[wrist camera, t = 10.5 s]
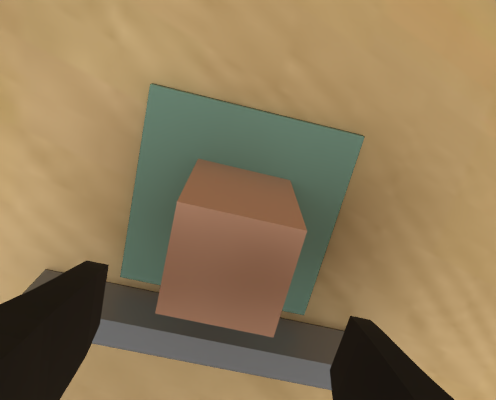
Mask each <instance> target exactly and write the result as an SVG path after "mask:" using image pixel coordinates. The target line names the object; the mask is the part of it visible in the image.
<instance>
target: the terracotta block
mask: <svg viewBox="0 0 496 400" xmlns="http://www.w3.org/2000/svg"><path fill="white" fill-rule="evenodd" d="M306 233H307V229H306V226H305V223H304V220H303V217H302V214H301V211H300V208H299V205H298V202H297V199H296V196H295V193H294V190H293V187H292V184H291V181H290V180H287V179H283V178H279V177H274V176H270V175H266V174H262V173H257V172H253V171H249V170H245V169H240V168H236V167H232V166H228V165H223V164H219V163H215V162H211V161H206V160H202V159H198V160H197V162H196V164H195V166H194V168H193V170H192V172H191V174H190V176H189V178H188V180H187V182H186V184H185V186H184V188H183V190H182V192H181V194H180V196H179V198H178V201H177V204H176V209H175V214H174V219H173V225H172V230H171V235H170V240H169V245H168V250H167V255H166V260H165V265H164V271H163V276H162V281H161V286H160V291H159V296H158V301H157V306H156V311H155V314H160V315H165V316H170V317H175V318H180V319H185V320H190V321H195V322H200V323H204V324H209V325H214V326H219V327H224V328H229V329H234V330H239V331H244V332H249V333H254V334H259V335H263V336H268V337H274V334H275V331H276V328H277V325H278V321H279V318H280V315H281V312H282V309H283V306H284V303H285V299H286V296H287V293H288V290H289V287H290V284H291V281H292V277H293V274H294V271H295V268H296V265H297V262H298V258H299V255H300V252H301V249H302V246H303V243H304V240H305V236H306Z"/></svg>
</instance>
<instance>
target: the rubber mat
mask: <svg viewBox="0 0 496 400" xmlns="http://www.w3.org/2000/svg"><path fill="white" fill-rule="evenodd" d="M363 140H364V136H363V135H359V134H355V133H351V132H347V131H343V130H339V129H335V128H331V127H327V126H323V125H318V124H314V123H310V122H306V121H302V120H298V119H294V118H290V117H286V116H282V115H278V114H274V113H270V112H266V111H262V110H258V109H254V108H250V107H246V106H241V105H237V104H233V103H229V102H225V101H221V100H217V99H213V98H209V97H205V96H201V95H197V94H193V93H189V92H185V91H181V90H177V89H173V88H169V87H164V86H160V85H156V84H150V89H149V96H148V102H147V109H146V115H145V121H144V128H143V134H142V141H141V147H140V153H139V160H138V166H137V173H136V179H135V186H134V192H133V198H132V205H131V211H130V218H129V224H128V230H127V237H126V243H125V250H124V256H123V263H122V269H121V275H120V277H123V278H128V279H133V280H138V281H142V282H147V283H152V284H157V285H161V281H162V276H163V271H164V265H165V260H166V255H167V250H168V245H169V240H170V235H171V230H172V225H173V219H174V214H175V209H176V204H177V201H178V198H179V196H180V194H181V192H182V190H183V188H184V186H185V184H186V182H187V180H188V178H189V176H190V174H191V172H192V170H193V168H194V166H195V164H196V162H197V160H198V159H202V160H206V161H211V162H215V163H219V164H223V165H228V166H232V167H236V168H240V169H245V170H249V171H253V172H257V173H262V174H266V175H270V176H274V177H279V178H283V179H287V180H290V181H291V184H292V187H293V190H294V193H295V196H296V199H297V202H298V205H299V208H300V211H301V214H302V217H303V220H304V223H305V226H306V229H307V233H306V236H305V240H304V243H303V246H302V249H301V252H300V255H299V258H298V262H297V265H296V268H295V271H294V274H293V277H292V281H291V284H290V287H289V290H288V293H287V296H286V299H285V303H284V306H283V309H282V311H286V312H291V313H296V314H301V315H304V314H305V311H306V308H307V305H308V302H309V299H310V296H311V293H312V290H313V287H314V284H315V281H316V279H317V276H318V273H319V270H320V267H321V264H322V261H323V258H324V255H325V252H326V249H327V246H328V243H329V240H330V237H331V234H332V231H333V228H334V226H335V223H336V220H337V217H338V214H339V211H340V208H341V205H342V202H343V199H344V196H345V193H346V190H347V187H348V184H349V181H350V178H351V175H352V172H353V170H354V167H355V164H356V161H357V158H358V155H359V152H360V149H361V146H362V143H363Z"/></svg>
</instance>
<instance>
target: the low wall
mask: <svg viewBox="0 0 496 400" xmlns="http://www.w3.org/2000/svg"><path fill="white" fill-rule="evenodd" d="M61 274H63V273H60V272H55V271H51V270H45V271H44V272H43V273H42V274H41V275H40V276H39V277H38V278H37V279H36V280H35V281H34V282H33V283H32V284H31V285H30V286H29V287H28V288H27V289H26V291H25V292H24V293H26V292H28V291H30V290H32V289H34V288H36V287H38V286H40V285H42V284H44V283H46V282H48V281H50V280H52V279H54V278H55V277H57V276H59V275H61ZM24 293H23V294H24ZM158 296H159V293H157V292H152V291H147V290H142V289H138V288H133V287H128V286H123V285H118V284H113V283H109V282H106V285H105V292H104V299H103V306H102V313H101V320H100V325H99V328H98V330H97V332H96V335H95V337H94V339H93V341H92V344H98V345H103V346H108V347H113V348H118V349H123V350H128V351H134V352H139V353H144V354H149V355H154V356H159V357H164V358H169V359H175V360H180V361H185V362H190V363H195V364H200V365H205V366H210V367H216V368H221V369H226V370H231V371H236V372H241V373H246V374H252V375H257V376H262V377H267V378H272V379H277V380H282V381H287V382H293V383H298V384H303V385H308V386H313V387H318V388H323V389H328V390H332V388H331V378H330V368H331V365H332V363H333V360H334V357H335V355H336V352H337V350H338V347H339V344H340V342H341V339H342V337H343V334H344V331H340V330H336V329H331V328H326V327H321V326H316V325H311V324H307V323H302V322H297V321H292V320H287V319H282V318H279V321H278V325H277V328H276V331H275V334H274V337H268V336H263V335H259V334H254V333H249V332H244V331H239V330H234V329H229V328H224V327H219V326H214V325H209V324H204V323H200V322H195V321H190V320H185V319H180V318H175V317H170V316H165V315H160V314H155V311H156V306H157V301H158Z"/></svg>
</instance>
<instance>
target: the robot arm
mask: <svg viewBox="0 0 496 400" xmlns="http://www.w3.org/2000/svg"><path fill="white" fill-rule="evenodd" d="M107 272H108V265H106V264H101V263H96V262H91V261H85V262H83V263H81V264H79V265H77V266H76V267H74V268H72V269H70V270H68V271H66V272H65V273H63V274H61V275H59V276H57V277H55V278H54V279H52V280H50V281H48V282H46V283H44V284H42V285H40V286H38V287H36V288H34V289H32V290H30V291H28V292H26V293H24V294H22V295H20V296H17V297H15V298H13V299H11V300H9V301H7V302H5V303H2V304H0V400H60V398H61V396H62V395H63V393H64V391H65V390H66V388H67V387H68V385H69V383H70V382H71V380H72V378H73V377H74V375H75V373H76V372H77V370H78V368H79V367H80V365H81V363H82V362H83V360H84V358H85V356H86V355H87V352H88V350H89V348H90V346H91V344H92V341H93V339H94V337H95V335H96V332H97V330H98V328H99V325H100V320H101V313H102V306H103V299H104V292H105V285H106V279H107ZM330 378H331V388H332V396H333V400H454V399H453V398H452V397H451V396H450V395H449V394H447V393H446V392H445V391H444V390H443V389H442V388H441V387H440V386H439V385H437V384H436V383H435V382H434V381H433V380H432V379H431V378H430V377H429V376H428V375H427V374H426V373H424V372H423V371H422V370H421V369H420V368H419V367H418V366H417V365H416V364H415V363H414V362H413V361H412V360H411V359H410V358H409V357H408V356H407V355H406V354H405V353H404V352H403V351H402V350H401V349H400V348H399V347H398V346H397V345H396V344H395V343H394V342H393V341H392V340H391V339H390V338H389V337H388V336H387V335H386V334H385V333H384V332H383V331H382V330H381V329H380V328H379V327H378V326H376V325H375V324H374V323H373V322H372V321H371V320H368V319H363V318H358V317H353V316H350V318H349V321H348V324H347V326H346V329H345V331H344V334H343V337H342V339H341V342H340V344H339V347H338V350H337V352H336V355H335V357H334V360H333V363H332V365H331V368H330Z"/></svg>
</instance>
